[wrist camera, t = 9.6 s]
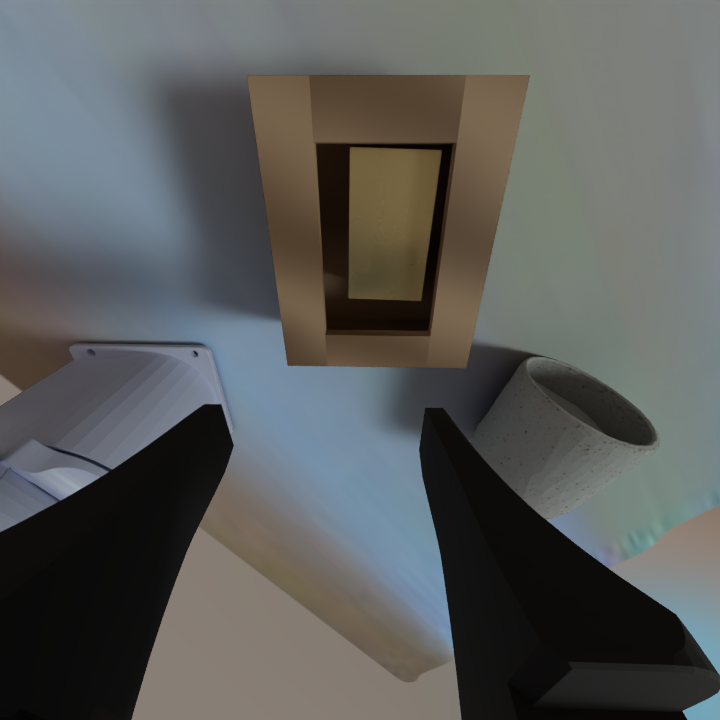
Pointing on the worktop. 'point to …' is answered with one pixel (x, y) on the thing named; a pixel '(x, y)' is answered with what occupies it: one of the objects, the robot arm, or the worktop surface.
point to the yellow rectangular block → (390, 221)
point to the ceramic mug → (561, 435)
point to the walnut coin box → (331, 207)
